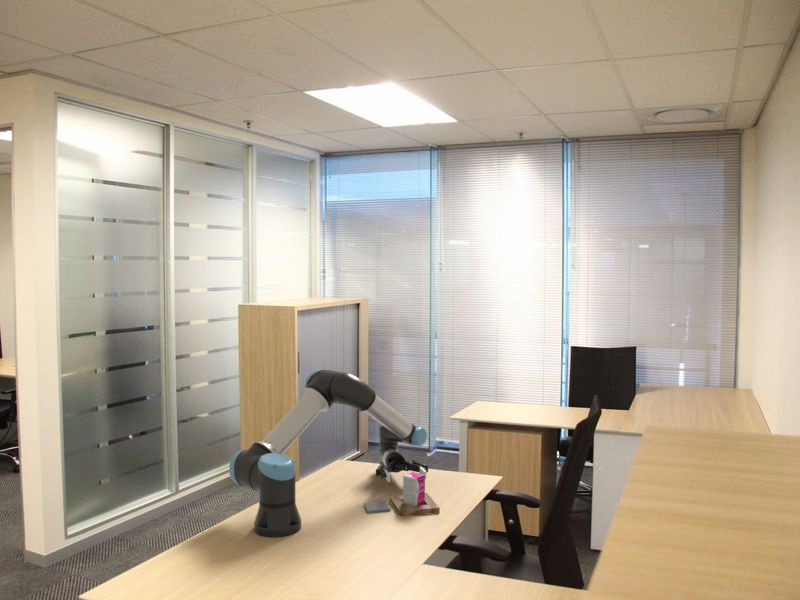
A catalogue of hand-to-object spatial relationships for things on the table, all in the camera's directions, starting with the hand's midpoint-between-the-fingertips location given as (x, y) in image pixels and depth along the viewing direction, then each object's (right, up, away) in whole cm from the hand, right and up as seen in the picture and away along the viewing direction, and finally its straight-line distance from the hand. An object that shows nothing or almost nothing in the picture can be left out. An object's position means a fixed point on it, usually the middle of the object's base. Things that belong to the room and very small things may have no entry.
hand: (407, 476), depth 255 cm
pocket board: (+2, -8, -9) cm, 12 cm away
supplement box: (+2, -9, -9) cm, 13 cm away
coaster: (-11, -8, -10) cm, 17 cm away
